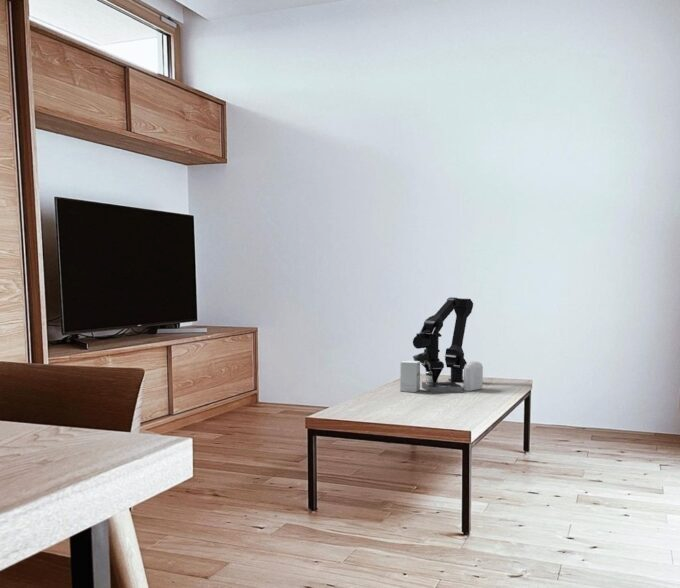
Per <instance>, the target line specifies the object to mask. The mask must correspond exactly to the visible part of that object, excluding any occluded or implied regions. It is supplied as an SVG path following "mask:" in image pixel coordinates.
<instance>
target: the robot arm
mask: <svg viewBox="0 0 680 588" xmlns="http://www.w3.org/2000/svg"><path fill="white" fill-rule="evenodd" d="M473 307H474V302H473V300H472V299H471V298H458V297H452V296H451V297H448V298H447V299H446V301H445V302H444V304H443V305H442V306H441V307H440V308H439V309H438V310H437V312H435V314H433V315H431V316H429V317H427V318H426V319H425V320H424V322H423V323H422V326H421V328H420V331H419V332H417V333H416V336H414V338H413V339H412V345H413V347H414V349H418V350H420V349H424V350H423V352H421V353H418V354H415V355H412V358H413V361H420V364H421V366H423V367H424V368H425V369H424V370H425V373H426V372H428V371H431V372H432V379H433V382H436V381H437V379H438V380H439V376H440V374H441V373H442V371H443V370H444V368H445V365H446V368H450V378H448V381H449V382H454V383H459V382H460V383H461V382H463V383H464V366H465V365H466V364H467V363H468V362H467V361H466V359H465V353H464V350H463V341H464V338H465V330H466V325H467V320H468V317H469V316H470V315H471V314H472V311H473V309H474V308H473ZM453 311H454V313H455V316H456V317H455V323H454V326H453V327H454V328H453V329H454V330H453V334H452V340H451V344H450V347H447V348H446V349H445V354H444V361H445V364H444V362H443V361H441V359H440V358H439V353H440V352H441V351H440V349H439V339H440V338H439V337H442V336H443V335H442V334H441V333H440V331H442V328H443V326H444V322H445V320H446V319H447V318H448V316H450V315H451V313H453Z"/></svg>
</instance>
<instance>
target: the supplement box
mask: <svg viewBox="0 0 680 588" xmlns="http://www.w3.org/2000/svg"><path fill="white" fill-rule="evenodd" d="M399 373H400V379H399V381H400V384H399V391H400V392H405V393H406V392H407V393H417V392H418V391H420V390H421V389H420V388H421V362H420V361H414V360H402V361H401V362H400V372H399Z"/></svg>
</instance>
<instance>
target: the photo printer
mask: <svg viewBox="0 0 680 588" xmlns="http://www.w3.org/2000/svg"><path fill="white" fill-rule="evenodd" d="M483 369H484V366H483V364H482V363H481V362H479V361H474V360H473V361H472V360H471V361H470V362H467V364H466V365H465V366H464V369H463V380H464V382H463V385H462V389H463V391H465V392H471V391H472V392H473V391H476V390H482V389H483V380H484V379H483V373H484V370H483Z"/></svg>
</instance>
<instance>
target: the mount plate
mask: <svg viewBox="0 0 680 588" xmlns="http://www.w3.org/2000/svg"><path fill="white" fill-rule="evenodd" d="M421 388H422V389H423V390H425V391H426V392H428V393H429V394H447V393H449V394H452V393H453V394H454V393H455V394H456V393H459V394H460V393H463V385H462V386H461V385H460V384H458V383H457V382H451V381H438V382H426V381H422V382H421Z"/></svg>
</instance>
